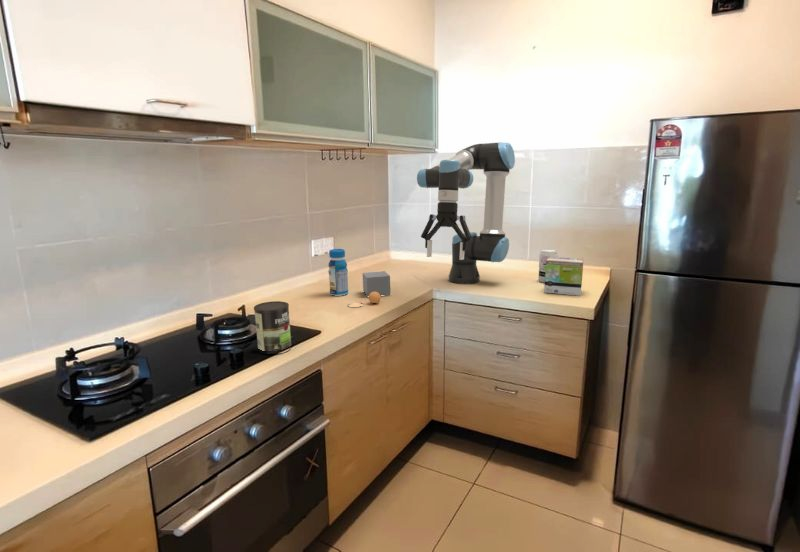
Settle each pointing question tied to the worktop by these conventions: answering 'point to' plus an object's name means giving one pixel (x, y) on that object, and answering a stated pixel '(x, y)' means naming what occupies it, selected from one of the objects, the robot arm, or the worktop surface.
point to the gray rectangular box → (376, 283)
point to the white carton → (542, 262)
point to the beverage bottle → (338, 272)
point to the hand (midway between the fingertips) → (445, 258)
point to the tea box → (563, 275)
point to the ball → (374, 297)
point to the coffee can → (272, 326)
